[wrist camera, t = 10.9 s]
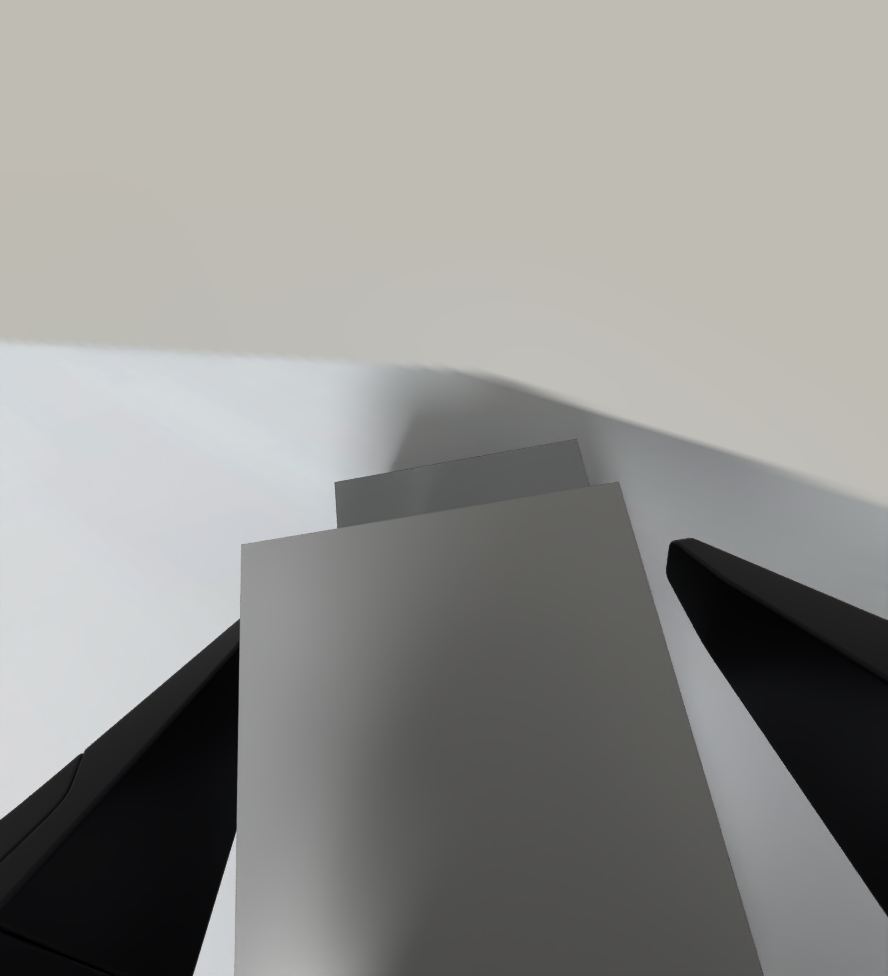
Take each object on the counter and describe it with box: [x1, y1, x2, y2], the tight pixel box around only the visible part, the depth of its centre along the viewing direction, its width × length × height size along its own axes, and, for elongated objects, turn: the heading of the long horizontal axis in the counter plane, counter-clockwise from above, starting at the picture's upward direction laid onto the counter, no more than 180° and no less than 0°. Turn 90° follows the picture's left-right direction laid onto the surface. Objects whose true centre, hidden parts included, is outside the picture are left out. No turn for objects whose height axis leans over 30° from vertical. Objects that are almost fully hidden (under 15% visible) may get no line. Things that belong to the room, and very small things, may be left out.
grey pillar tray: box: [335, 439, 589, 529], centre depth 10 cm, size 22×9×10 cm, turn 9°
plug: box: [234, 482, 764, 976], centre depth 9 cm, size 4×4×13 cm
